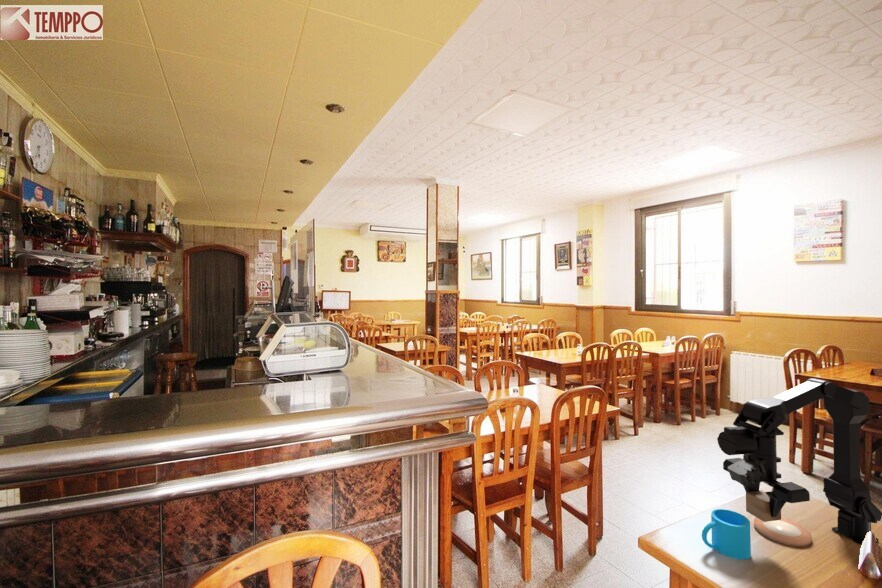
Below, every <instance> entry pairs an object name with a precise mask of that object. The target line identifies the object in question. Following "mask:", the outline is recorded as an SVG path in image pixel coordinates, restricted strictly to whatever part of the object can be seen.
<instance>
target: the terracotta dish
mask: <svg viewBox="0 0 882 588" xmlns="http://www.w3.org/2000/svg"><path fill="white" fill-rule="evenodd" d="M753 527H754V529H755V530H756V531H757V532H759V534H761V535H762V536H764V537H766V538H768V539H770V540H772V541H773V542H777V543H779V544H783V545H787V546H792V547H798V548H799V547H807V546H811V544H812V542H813V537H812V534H811V532H810V531H809V530H808V529H807V528H805V527H803V526H802V525H801V524H798V523H796V522H794V521H792V520H789V519H786V518H783V517H781V520H775V521H768V522H764V521H762V520H760V519H759V518H757V517H755V516H754V518H753Z"/></svg>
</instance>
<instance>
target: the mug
mask: <svg viewBox="0 0 882 588" xmlns="http://www.w3.org/2000/svg"><path fill="white" fill-rule="evenodd" d="M710 517H711V518H710V519H711V521H710V522H709V523H707V524H706V525H705V526H704V527H703V530H702V531H701V539H702V541H703V543H704V544H705V545H706V546H708V547H709V548H711V549H713V550H716V551H717V552H718V553H720V554H721V555H723V556H726V557H728V558H731V559H735V558H736V559H735V560H747V559H750V558H751V555H752V550H751V549H752V547H751V546H752V545H751V520H749V518H748V517H746V515H743V514H741V513H739V512H737V511H734V510H730V509H724V508H716V509H713V510H712V511H711V514H710ZM710 530H711V543H710V542H709V540H708V533H709V531H710Z"/></svg>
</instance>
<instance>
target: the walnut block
mask: <svg viewBox="0 0 882 588" xmlns="http://www.w3.org/2000/svg"><path fill="white" fill-rule="evenodd" d="M765 492H766V491H764V490H759V491H753V492H746V491H745V509H746V510H745V511H746V512H747V513H748V514H751V516H753V517H754V518H755V517H757V518H759V519H760V520H762V521H764V522H768V521H775V520H781V518H782V509H781V510H780V512H779V513H778V515H777V516H776V517H771V513H770V499H769V497H768V495H767V494H766V493H765Z"/></svg>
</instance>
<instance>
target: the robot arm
mask: <svg viewBox="0 0 882 588" xmlns="http://www.w3.org/2000/svg"><path fill="white" fill-rule="evenodd" d="M819 400H823V404H824V405H823V406H824V409H825V410H826V412H827V413H828V416H829V417H830V418H831V419H832V437H833V438H832V443H833V472H832V474H831V475H829V476H828V477H824V478H823V479H822V481H823V489H822V492H824V496H825V497H826V498H827V501H828V503H829V506H831V507H834V508H836V509H838V510H837V517H836V518H837V521H836V522H837V526H834V527H831V530H832V531H834V532H835V533H837V534H839V535H841V536H843V537H845V538H847V539H848V540H850V541H852V542H854V543H856V544H857V545H858V544H859V545H862V544H861V543H862V541H863V540H864V538H865V535H866V533H867V532H869V531H871V532H872V524H878V522H881V520H882V511H881V510H880V509H879V508H878V507H877V506H876V505H875V504H874V503H873V502H872V498H871V493H870V489H869V488H868V487H867V485H866V484H865V482H864V481H863V479H862V477H861V476H862V475H861V439H860V438H861V435H860V432H861V430H860V424H861V423H862V421H864V420H865V419H866V418H867V416H869V409H870V403H871V402H870V397H869V396H868V395H867V394H865V392H863V391H860V390H856V389H851V388H847V387H843V386H840V385H838V384H835V383H833V382H831V381H829V380H824V379H819V378H815V377H812V378H807V379H806V381H805V382H803V383H800V384H799V385H795V386H794V387H792V388H790V389H787V390H785V391H783V392H781V393H779V394H777V395H775V396H771V397H763V398H762V397H759V398H754V399H752V400H749V401H746V402H745V403H744V404H743V407H742V408H741V410H740V412H739V413H738V415H737V416H736V417H735V420H734V421H733V423H732V426H724V427H723V431H721V432H720V433H719V434H718V436H717V439H716V440H717V445H718V446H719V449H720V450H721V451H722V452H723V453H724V454H725V455H727V456H738V455H742V458H741V457H736V458H735V457H734V458H726V459H724V461H723V463H722V464H723V465H722V468H723V470H724V471H726V472H728V473H729V475H730V479H731V480H733V481H735V482H737V483H738V484H741V486H743V488H744V490H745V493H746V492H753V491H760V485H761V483H763V484H765V485H767V486H769V487H771V488H772V489H771V491H764V492H765V493H766V494H767V495H768V497H769V499H770V513H771V517H776V516H777V515H778V513H779V512H780V510H781V511H782V509H783V507H784V506H785V504H786V503H789V504H797V503H803V502H810V501H811V500H810V498H811V495H810V491H809V490H808V489H807V488H806V487H804V486H801V485H799V484H798V483H795V482H793V481H787V482H781V481H779V480H777V479H782V473H779V472H778V465H777V463H782V457H779V456H777V453H778V452H777V436H783V435H784V434H785V432H784V431H782V429H780V428H779V427H780V426H781V425H783V424H784V423H786V422H787V421H788V420H787V419H788V416H789V415H791V413H794V412H796V411H799V410H801V409H802V408H804V407H806V406H809V405H811V404H813V403H815V402H817V401H819ZM757 425H758V426H757ZM876 540H877V542H879V538H877V537H876Z"/></svg>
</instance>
